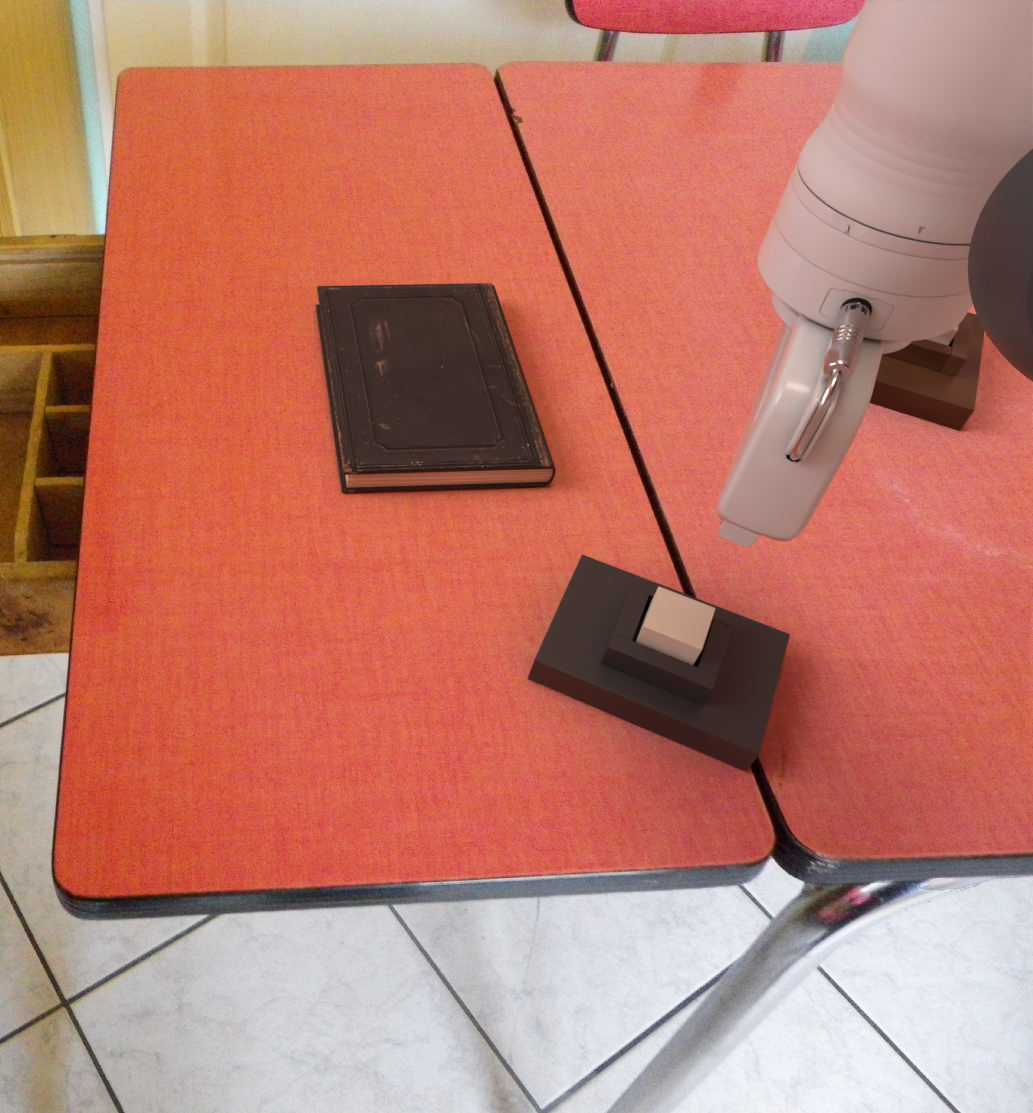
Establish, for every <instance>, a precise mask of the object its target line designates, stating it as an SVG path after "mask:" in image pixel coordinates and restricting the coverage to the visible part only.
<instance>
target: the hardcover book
mask: <svg viewBox="0 0 1033 1113" xmlns="http://www.w3.org/2000/svg"><path fill="white" fill-rule="evenodd" d="M316 290H317V300H318V304H315V309H316V317H317V324H318V332H319V338H320V346H321V353H322V360H323V361H322V362H323V366H324V367H323V368H324V373H325V381H326V388H327V396H328V403H329V411H330V417H331V424H332V431H333V439H334V447H335V453H336V459H337V467H338V476H339V482H340V488H341V493H342V494H344V493H345V494H346V493H347V494H348V493H378V492H379V493H380V492H382V493H383V492H384V493H385V492H411V491H412V492H413V491H414V492H415V491H445V490H450V491H451V490H478V489H481V490H482V489H483V490H484V489H509V488H510V489H511V488H543V487H546V486H548V485H550V484H551V483H552V482H553V481H554V478H555V476H556V471H557V469H556V466H555V462H554V459H553V456H552V454H551V450H550V448H549V444H548V441H547V439H546V436H545V432H544V430H543V427H542V424H541V420H540V418H539V414H538V412H537V409H536V405H535V403H534V400H533V397H532V394H531V391H530V387H529V384H528V382H527V380H526V379H527V378H526V376H525V372H524V370H523V367H522V363H521V361H520V358H519V355H518V352H517V349H516V346H515V342H514V340H513V336H512V334H511V331H510V328H509V325H508V322H507V319H506V316H505V313H504V310H503V308H502V305H501V301H500V299H499V295H498V292H497V289H496V287H495V285H494V284H493V283H490V282H478V283H477V282H476V283H475V282H473V283H471V282H470V283H419V284H418V283H416V284H415V283H414V284H412V283H411V284H360V285H359V284H357V285H356V284H355V285H354V284H353V285H317V286H316Z"/></svg>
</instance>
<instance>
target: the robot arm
mask: <svg viewBox="0 0 1033 1113" xmlns="http://www.w3.org/2000/svg"><path fill="white" fill-rule="evenodd" d="M756 263H757V264H756V265H757V269H758V272H759V275H760V277H761V279H762V281H763V282H764V284H765V285H766V287H767V288H768V289H769V291H770V292H771V294H770V297H771V300H770V301H771V305H772V307H773V309H774V311H775V313H776V314H777V315H778V317H779V318H780V320H781V321H782V324H781V326H780V329H779V332H778V334H777V337H776V340H775V343H774V346H773V349H772V351H771V354H770V357H769V360H768V362H767V365H766V368H765V370H764V373H763V375H762V378H761V381H760V384H759V386H758V389H757V392H756V395H755V398H754V400H753V403H752V406H751V408H750V411H749V414H748V416H747V419H746V422H745V424H744V427H743V430H742V433H741V436H740V438H739V440H738V444H737V446H736V449H735V452H734V455H733V457H732V460H731V463H730V466H729V468H728V471H727V473H726V476H725V479H724V482H723V484H722V487H721V490H720V493H719V496H718V499H717V503H716V510H715V511H716V515H717V516H718V518H719V519H720V520H721V523H720V526H719V528H718V536H719V537H721V539H722V540H725V541H727V542H730V543H733V544H735V545H738V546H741V547H743V548H749V547H752V546H754V545H755V544H756V543H757V541H758V539H760V538H759V537H760V536H762V537H765V538H768V539H771V540H774V541H778V542H783V543H787V542H790V541H793V540H794V539H796V538H797V537H799V536H800V535H801V534H802V533H803V531H804V530H805V528H806V527H807V526H808V524H809V522H810V521H811V519H812V517H813V515H814V513H815V512H816V510H817V508H818V506H819V505H820V503H821V501H822V499H823V498H824V496H825V494H826V493H827V491H828V489H829V487H830V485H831V484H832V481H833V480H834V478H835V476H836V474H837V472H838V470H839V469H840V467H841V465H842V464H843V462H844V460H845V458H846V456H847V454H848V452H849V450H850V448H851V446H852V445H853V443H854V441H855V439H856V437H857V434H858V432H859V430H860V428H861V425H862V423H863V421H864V418H865V416H866V413H867V411H868V408H869V405H870V403H871V402H870V399H871V396H872V393H873V389H874V385H875V381H876V377H877V373H878V369H879V365H880V361H881V357H882V354H887V353H891V352H895V351H898V350H900V349H903V348H904V347H906V346H908V345H909V344H910V343H911V342H912V341H917V340H924V339H929V338H933V337H936V336H939V335H942V334H944V333H947V332H948V331H950V330H952V329H953V328H955V327H956V326H957V325H959V323H960V322H961V321H962V320H963V319H964V317H965V316H966V314H967V313H968V312H970V310H971V308H972V306H973V308H974V311H975V314H976V315H977V316H978V319H979V321H980V323H981V325H982V327H983V329H984V330H985V334H986V336H987V337H988V339H989V340H990V342H991V343H992V344H993V346H994V348H996V349H997V351H998V352H999V353H1000V354H1001V355H1002V357H1003V358H1004V359H1005V360H1006V361H1007V362H1008V363H1009V364H1010V365H1011V366H1012V367H1014V368H1015V370H1017V371H1018V372H1019V373H1021V374H1022V375H1023V376H1024V377H1025V378H1027V379H1028V380H1030V381H1031V382H1033V0H865V1H864V4H863V6H862V9H861V11H860V13H859V15H858V17H857V19H856V22H855V24H854V27H853V29H852V31H851V32H850V35H849V38H848V39H847V43H846V45H845V48H844V51H843V55H842V59H841V67H840V75H839V81H838V87H837V89H836V93H835V97H834V99H833V101H832V104H831V106H830V108H829V109H828V111H827V113H826V115H825V116H824V118H823V119H822V120H821V122H820V123H819V124H818V126H817V127H816V128H815V129H814V130H813V132H811V134H810V135H809V137H808V138H807V140H806V141H805V143H804V145H803V147H802V148H801V150H800V152H799V154H798V157H797V159H796V162H795V165H794V167H793V169H792V171H791V174H790V176H789V178H788V181H787V182H786V185H785V188H784V190H783V193H782V194H781V197H780V199H779V202H778V204H777V206H776V210H775V211H774V214H773V216H772V218H771V221H770V223H769V225H768V227H767V230H766V232H765V234H764V237H763V239H762V241H761V243H760V246H759V248H758V251H757V256H756Z"/></svg>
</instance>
